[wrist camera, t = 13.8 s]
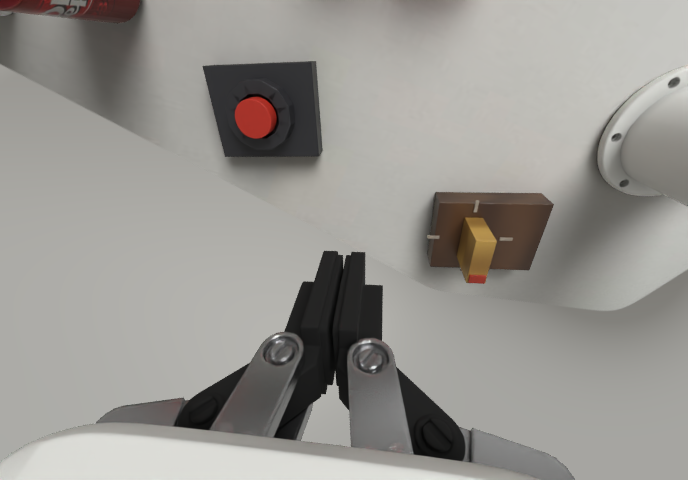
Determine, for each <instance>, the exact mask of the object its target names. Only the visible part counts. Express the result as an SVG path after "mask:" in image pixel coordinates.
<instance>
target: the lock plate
mask: <svg viewBox="0 0 688 480" xmlns="http://www.w3.org/2000/svg"><path fill="white" fill-rule="evenodd" d="M553 205H554V204H553V203H552V202H551V201H549V200H548V199H547V198H546V197H545V196H544V195H543V194H541V193H453V192H436V193H435V200H434V208H433V215H432V222H431V229H430V235H427V238H428V239H429V244H428V251H427V255H428V259H429V264H430V266H432V267H458V268H461V267H460V264H459V262H458V259H457V252H458V247H459V243H460V238H461V233H462V228H463V223H464V218H465V217H468V218H483V219H484V221H485V222H486V224H487V226H488V227H489V229H490V231H491V232H492V234H493V236H494V237H495V239H496V241H497V243H496V246H495V250H494V253H493V257H492V260H491V264H490V267H489V269H510V270H529V269H530V267H531V264H532V261H533V259H534V256H535V253H536V251H537V248H538V245H539V243H540V240H541V237H542V235H543V232H544V229H545V227H546V224H547V221H548V219H549V216H550V213H551V211H552V208H553ZM460 270H461V269H460ZM461 271H462V270H461Z"/></svg>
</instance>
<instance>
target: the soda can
mask: <svg viewBox="0 0 688 480" xmlns="http://www.w3.org/2000/svg"><path fill="white" fill-rule="evenodd" d="M139 4H140V0H0V11H6V12H15V13H25V14H34V15H43V16H52V17H61V18H70V19H79V20H89V21H98V22H107V23H117V24H118V23H124V22H126V21H128V20H130V19H131V18H132V17H133V16H134V15H135V14H136V12H137V10H138V8H139Z"/></svg>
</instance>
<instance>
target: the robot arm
mask: <svg viewBox="0 0 688 480" xmlns="http://www.w3.org/2000/svg"><path fill="white" fill-rule="evenodd" d="M597 162H598V167H599V171H600V173H601V175H602V177H603V178H604V180H605V181H606V182H607V183H608V184H609V185H611V186H612V187H614V188H616V189H617V190H619V191H621V192H624V193H626V194H629V195H634V196H658V195H666V196H668V197H670V198H672V199H674V200H676V201H678V202H680V203H682V204H684V205H686V206H688V65H686V66H683V67H681V68H678V69H675V70H673V71H670V72H668V73H666V74H664V75H662V76H660V77H658V78H656V79H655V80H653V81H651V82H650V83H648V84H647V85H646V86H644V87H643V88H641V89H640V90H638V91H637V92H636V93H635V94H634V95H633V96H632V97H630V98H629V99H628V100H627V101H626V102H625V103H624V104H623V105H622V106H621V108H620V109H619V110H618V111H617V112H616V113H615V114H614V116H613V117H612V119H611V120H610V122H609V123H608V125H607V126H606V129H605V131H604V133H603V135H602V137H601V140H600V143H599V147H598V155H597ZM382 292H383V286H381V285H365V252H352V253H351V255H347V256H346V259H345V264H344V269H343V255H338V252H337V251H324V252H323V255H322V258H321V262H320V265H319V268H318V271H317V274H316V278H315V281H314V282H303V283H302V285H301V288H300V290H299V293H298V296H297V298H296V301H295V304H294V307H293V310H292V312H291V315H290V318H289V321H288V324H287V326H286V329H285V331H284V332H280V333H276V334H274V335H272V336H270V337H268V338H267V339H266V340H265V341H264V342H263V343H262V344H261V346H260V347H259V349H258V351H257V352H256V354H255V356H254V357H253V359H252V361H251V362H250V363H249V364H247V365H245V366H244V367H242V368H240V369H239V370H237V371H235V372H234V373H232V374H230V375H229V376H227V377H225V378H224V379H222V380H220V381H219V382H217V383H215V384H213V385H212V386H210V387H208V388H207V389H205V390H203V391H202V392H200V393H198V394H197V395H196V396H194V397H193V398H192V399H190V400H186V401H185V399H184V398H178V399H171V400H162V401H155V402H148V403H140V404H134V405H126V406H121V407H118V408H115V409H113V410H111V411H110V412H108V413H106V414H105V415H104V416H103V417H101V418H100V419H99V420H98V421H97V422H96V424H89V425H83V426H78V427H75V428H70V429H66V430H63V431H59V432H56V433H52V434H50V435H47V436H45V437H42V438H39V439H37V440H35V441H33V442H31V443H28V444H26V445H25V446H23V447H21V448H19V449H18V450H16V451H14V452H13V453H11V454H10V455H9V456H8V457H6V458H5V459H4V460H2V461H1V462H0V480H575V479H574V477H573V476H572V474H571V473H570V472H569V470H568V469H567V468H566V466H564V465H563V464H562V463H561V462H560V461H558V460H557V459H556V458H555V457H553V456H551V455H549V454H547V453H545V452H542V451H539V450H536V449H533V448H530V447H527V446H524V445H521V444H518V443H515V442H512V441H509V440H506V439H503V438H500V437H497V436H495V435H492V434H489V433H486V432H483V431H480V430H477V429H474V428H472V429H471V431H469V430H467V429H463V428H461V427H458V425H457V424H456V423H455V422H454V421H453V420H452V419H451V418H450V417H449V416H448V415H447V414H446V413H445V412H444V411H443V410H442V409H441V408H440V407H439V406H438V405H436V404H435V403H434V402H433V401H432V400H431V399H430V398H429V397H428V396H427V395H426V394H425V393H424V392H423V391H421V390H420V389H419V388H418V387H417V386H416V385H415V384H414V383H413V382H412V381H411V380H410V379H408V377H407V376H405V375H404V374H403V373H402V372H401V371H400V370H399V369H398V368H397V367H396V364H395V359H394V355H393V352H392V350H391V348H390V347H389V346H388V345H387V344H386V343H384V342H383V341H382V296H383V295H382V294H383V293H382ZM335 371H336V383H337V386H339V399H340V400H341V401H342V402H343V404H344V405H345V406H346V407H347V409H348V410H349V412H350V435H351V447H347V446H339V445H330V444H321V443H313V442H305V441H301V439H302V436H303V433H304V430H305V427H306V425H307V422H308V419H309V416H310V413H311V411H312V406H313V402H315V401H316V400H317V399H319V398H320V397H321V394H326V390H327V385H332V384H333V380H334V373H335Z"/></svg>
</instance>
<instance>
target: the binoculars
mask: <svg viewBox="0 0 688 480" xmlns="http://www.w3.org/2000/svg"><path fill="white" fill-rule="evenodd" d="M11 13H12V12H6V11H0V16H7V15H10V14H11Z"/></svg>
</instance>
